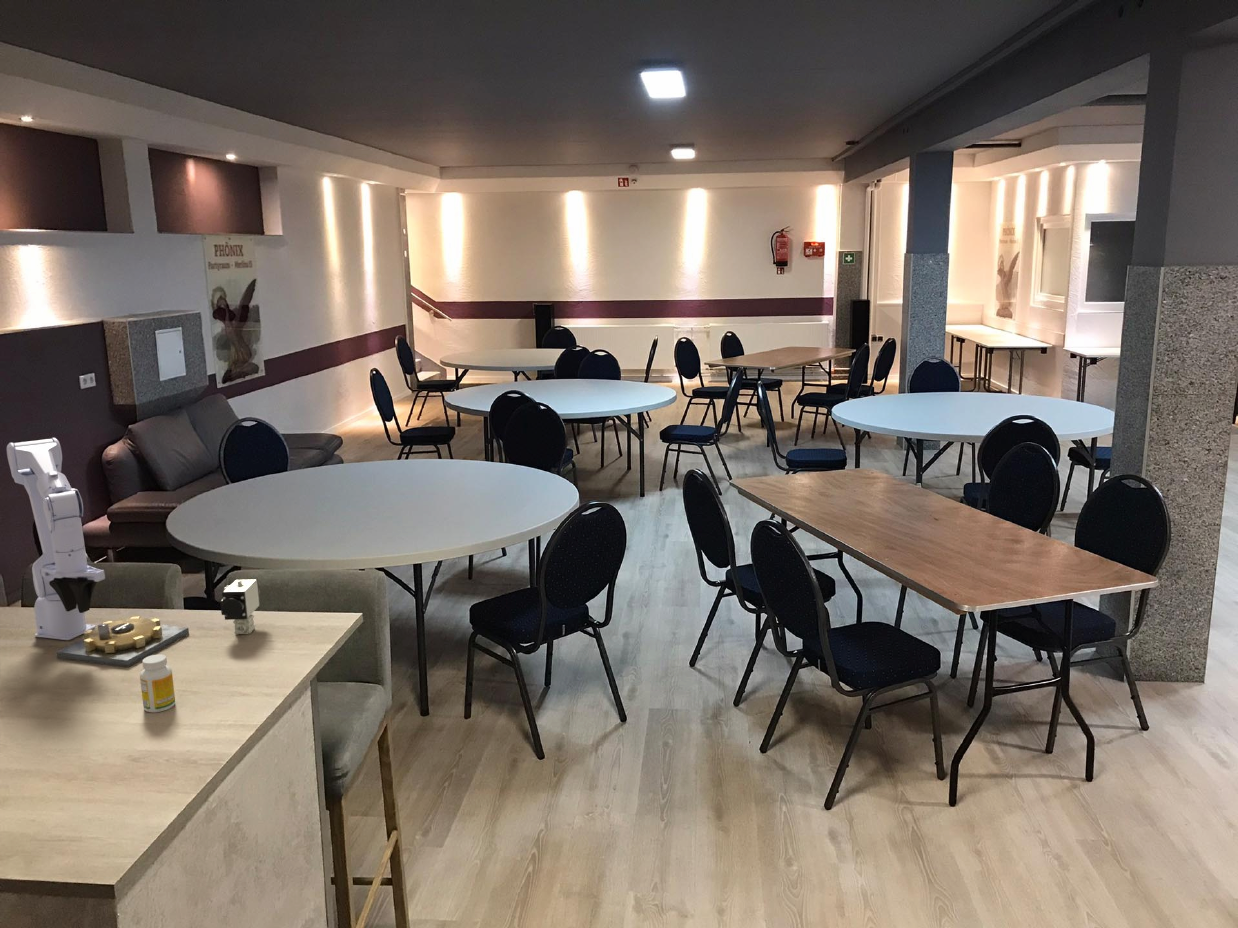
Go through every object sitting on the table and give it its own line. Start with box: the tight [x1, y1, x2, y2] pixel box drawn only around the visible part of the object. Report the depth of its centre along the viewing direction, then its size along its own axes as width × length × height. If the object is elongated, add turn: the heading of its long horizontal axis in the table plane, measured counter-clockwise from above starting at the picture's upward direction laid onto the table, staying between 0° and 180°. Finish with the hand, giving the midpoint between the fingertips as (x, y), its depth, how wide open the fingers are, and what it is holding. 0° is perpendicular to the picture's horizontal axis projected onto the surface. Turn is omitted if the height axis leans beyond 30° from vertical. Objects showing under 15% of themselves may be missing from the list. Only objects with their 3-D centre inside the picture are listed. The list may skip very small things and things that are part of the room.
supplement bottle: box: [139, 653, 176, 713], centre depth 178 cm, size 5×5×10 cm
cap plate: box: [55, 624, 190, 668], centre depth 207 cm, size 18×18×2 cm
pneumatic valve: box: [219, 578, 261, 636], centre depth 213 cm, size 6×12×12 cm, turn 2°
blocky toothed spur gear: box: [83, 616, 162, 653], centre depth 207 cm, size 15×15×5 cm
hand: (77, 610), depth 202 cm, fingers open, 3 cm apart
